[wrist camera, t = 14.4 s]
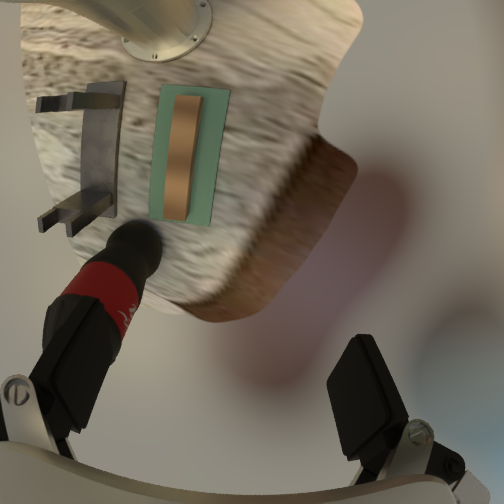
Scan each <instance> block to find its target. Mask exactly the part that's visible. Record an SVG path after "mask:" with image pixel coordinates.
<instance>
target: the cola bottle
mask: <svg viewBox="0 0 504 504" xmlns="http://www.w3.org/2000/svg"><path fill="white" fill-rule="evenodd" d="M161 256H162V246H161V242H160V239H159V237H158V235H157V234H156V232H155V231H154V230H153V229H152V228H150V227H149V226H147V225H145V224H142V223H138V222H132V223H127V224H124V225H122V226H120V227H119V228H117V229H116V230H115V231H114V232H113V233H112V234H111V235H110V237H109V239H108V241H107V244H106V248H105V249H103V250H102V251H100V252H99V253H98V254H96V255H95V256H93V257H92V258H91V259H89V260H88V261H87V262H86V263H85V264H84V265H83V266H82V268H81V270H80V272H79V273H78V274H77V275H76V276H75V277H74V278H73V280H72V281H71V282H70V283H69V285H68V286H67V287H66V288H65V290H64V291H63V292H62V293H61V295H60V296H59V297H57V298H56V299H55V300H54V302H53V303H52V304H51V305H50V306H48V309H47V312H46V317H45V322H44V328H43V339H42V347H43V352H44V350H45V349H46V347H47V345H48V344H49V342H50V341H51V339H52V337H53V336H54V334H55V333H56V331H57V330H58V328H59V327H60V326H61V325H63V324H64V323H65V321H66V320H67V318H68V317H69V315H70V314H71V313H72V311H73V310H74V308H75V307H76V305H77V304H78V303H79V301H80V300H81V298H82V297H83V296H84V295H88V296H92V297H96V298H99V299H100V302H101V303H103V304H104V308H105V315H106V320H107V326H108V331H109V336H110V341H111V345H112V350H113V358H112V361H111V364H112V363H113V362H114V361H115V358H116V356H117V355H118V353H119V351H120V348H121V345H122V340H123V338H124V336H125V333H126V331H127V329H128V327H129V324H130V322H131V320H132V317H133V315H134V313H135V312H136V310H137V309H138V307H139V305H140V302H141V299H142V295H143V291H144V286H145V282H146V279H147V278H149V277H150V276H151V275H152V274H153V273H154V272H155V271H156V270H157V268H158V266H159V264H160V261H161ZM111 364H110V365H111Z"/></svg>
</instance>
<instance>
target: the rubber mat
mask: <svg viewBox="0 0 504 504" xmlns="http://www.w3.org/2000/svg"><path fill="white" fill-rule="evenodd" d="M176 95H188V96H201V97H202V98H204V101H203V107H202V114H201V120H200V127H199V134H198V141H197V148H196V156H195V164H194V172H193V181H192V190H191V200H190V210H189V215H188V217H187V219H186V221H177V220H169V219H163V210H164V194H165V181H166V169H167V158H168V149H169V140H170V132H171V124H172V117H173V110H174V103H175V97H176ZM229 95H230V90H225V89H216V88H206V87H195V86H180V85H162V86H161V92H160V98H159V105H158V112H157V119H156V127H155V135H154V144H153V154H152V166H151V179H150V195H149V219H157V220H165V221H172V222H180V223H187V224H194V225H202V226H210V218H211V210H212V203H213V195H214V188H215V181H216V174H217V167H218V160H219V154H220V147H221V141H222V135H223V129H224V123H225V117H226V111H227V106H228V100H229Z"/></svg>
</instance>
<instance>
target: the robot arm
mask: <svg viewBox="0 0 504 504" xmlns="http://www.w3.org/2000/svg"><path fill="white" fill-rule="evenodd" d="M0 2H7V3H40V4H49V5H54V6H59V7H62V8H65V9H68V10H70V11H73V12H75V13H77V14H79V15H81V16H84V17H86V18H88V19H90V20H92V21H94V22H96V23H98V24H100V25H102V26H103V27H105V28H107V29H109V30H111V31H113V32H115V33H116V34H118V35H120V38H121V42H122V45H123V46H124V48H125V50H126V51H127V52H128V53H129V54H130V55H132V56H133V57H135V58H137V59H139V60H141V61H145V62H149V63H161V62H168V61H171V60H175V59H177V58H180V57H182V56H184V55H186V54H187V53H189V52H190V51H192V50H193V49H194V48H195V47H197V46H198V45H199V44H200V43H201V41H202V40H203V39H204V38H205V36H206V35H207V33H208V31H209V28H210V26H211V21H212V12H211V8H210V5H209V3H208V1H207V0H0ZM203 6H205V7H203ZM202 7H203V8H202ZM194 39H197V41H194ZM128 40H129V41H128ZM156 56H158V58H157V59H155V57H156ZM112 358H113V350H112V345H111V341H110V336H109V331H108V326H107V320H106V315H105V308H104V304H103V303H101V302H100V299H99V298H96V297H92V296H88V295H84V296H83V297H82V298H81V300H80V301H79V303H78V304H77V305H76V307H75V308H74V310H73V311H72V313H71V314H70V315H69V317H68V318H67V320H66V321H65V323H64V324H63V325H61V326H60V327H59V328H58V330H57V331H56V333H55V334H54V336H53V337H52V339H51V341H50V342H49V344H48V345H47V347H46V349H45V350H44V352H43V353H42V355H41V357H40V359H39V360H38V362H37V364H36V366H35V367H34V369H33V370H32V372H31V374H30V376H29V377H28V378H27V377H26V376H24V375H20V374H17V375H12V376H10V377H8V378H7V379H6V380H5V381H4V382H3V384H2V386H1V389H0V504H488V503H489V501H490V493H489V491H488V490H487V488H486V487H485V486H484V485H483V484H482V483H481V482H480V481H479V480H478V479H477V478H476V477H475V476H474V475H473V474H472V473H471V472H470V471H469V470H466V471H465V462H464V460H463V458H462V457H461V456H460V455H459V454H458V453H456V452H454V451H452V450H450V449H448V448H446V447H445V446H443V445H441V444H439V443H437V442H435V441H434V431H433V429H432V428H431V426H430V425H429V424H428V423H427V422H425V421H423V420H420V419H413V420H411V421H410V422H409V421H408V417H409V415H408V413H407V411H406V408H405V406H404V403H403V401H402V399H401V396H400V394H399V392H398V390H397V387H396V385H395V383H394V381H393V378H392V376H391V374H390V372H389V370H388V368H387V365H386V363H385V361H384V359H383V357H382V355H381V353H380V350H379V349H378V347H377V344H376V342H375V340H374V338H373V336H372V335H370V334H357V335H356V336H355V337H353V338H352V339H351V340H350V341H349V343H348V345H347V347H346V349H345V350H344V352H343V354H342V356H341V358H340V360H339V361H338V363H337V364H336V366H335V368H334V370H333V371H332V373H331V374H330V376H329V378H328V380H327V390H328V394H329V398H330V402H331V406H332V410H333V413H334V418H335V422H336V426H337V430H338V435H339V439H340V443H341V447H342V451H343V454H344V455H345V456H347V460H348V461H353V460H359V459H360V462H361V466H360V468H359V469H358V471H357V473H356V475H355V476H354V478H353V480H352V481H351V483H350V485H349V486H348V487H344V488H337V489H331V490H325V491H316V492H308V493H297V494H281V495H232V494H216V493H205V492H196V491H189V490H182V489H175V488H170V487H164V486H159V485H154V484H150V483H145V482H141V481H137V480H133V479H129V478H126V477H122V476H118V475H115V474H112V473H109V472H106V471H102V470H99V469H96V468H93V467H90V466H87V465H85V464H82V463H80V462H78V460H77V458H76V456H75V454H74V452H73V449H72V447H71V445H70V442H69V440H68V436H69V432H70V430H71V431H74V432H77V433H79V434H80V432H81V429H82V428H83V429H84V428H86V426H87V424H88V421H89V418H90V415H91V412H92V410H93V406H94V404H95V401H96V399H97V396H98V393H99V391H100V388H101V386H102V383H103V381H104V378H105V376H106V373H107V371H108V368H109V366H110V364H111V361H112Z"/></svg>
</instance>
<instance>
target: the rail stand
mask: <svg viewBox="0 0 504 504" xmlns="http://www.w3.org/2000/svg"><path fill="white" fill-rule="evenodd" d="M125 88H126V82H125V81H116V82H101V83H89V84H87V91H86V93H83V92H69V93H68V94H67V95H59V96H42V97H37V102H36V112H35V113H42V112H62V111H77V110H84V115H83V126H82V141H81V191H79V192H77V193H76V194H74V195H72V196H70V197H69V198H67V199H65V200H64V201H62V202H60V203H59V204H57V205H56V206H54V207H53V208H52V209H51V210H49V211H48V212H46V213H44V214H43V215H41V216H40V217H38V218H37V219H38V227H39V232H41V233H44V232H46V231H47V230H48V229H49V228H51V227H52V226H53V225H55V224H56V223H58V222H60V223H66V233H67V237H74V236H75V235H76V234H77V233H78V232H79V231H81V230H82V229H83V228H84V227H85V226H87V225H89V224H90V223H91V222H92V221H93V220H95V219H96V218H97V217H98V216H100V217H108V218H115V217H116V216H117V167H118V150H119V137H120V127H121V117H122V109H123V102H124V95H125Z"/></svg>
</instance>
